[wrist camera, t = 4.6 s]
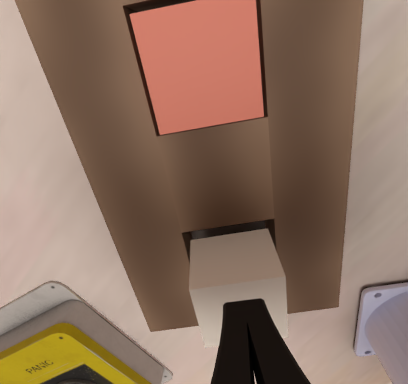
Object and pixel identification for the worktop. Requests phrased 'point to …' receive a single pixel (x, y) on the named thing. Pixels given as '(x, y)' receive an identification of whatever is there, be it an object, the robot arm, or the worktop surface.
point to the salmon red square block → (201, 63)
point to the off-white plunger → (235, 279)
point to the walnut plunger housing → (211, 145)
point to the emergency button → (69, 343)
